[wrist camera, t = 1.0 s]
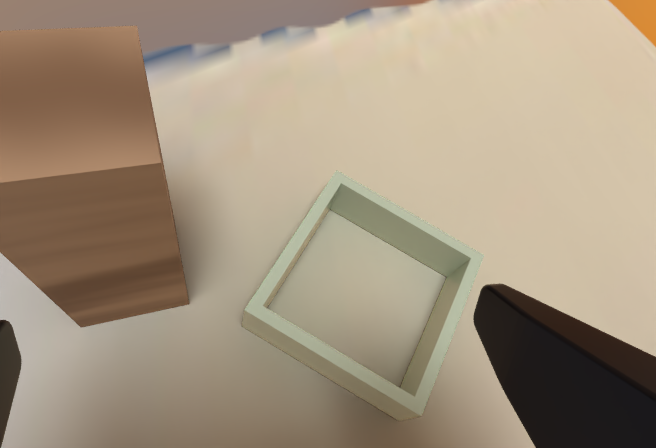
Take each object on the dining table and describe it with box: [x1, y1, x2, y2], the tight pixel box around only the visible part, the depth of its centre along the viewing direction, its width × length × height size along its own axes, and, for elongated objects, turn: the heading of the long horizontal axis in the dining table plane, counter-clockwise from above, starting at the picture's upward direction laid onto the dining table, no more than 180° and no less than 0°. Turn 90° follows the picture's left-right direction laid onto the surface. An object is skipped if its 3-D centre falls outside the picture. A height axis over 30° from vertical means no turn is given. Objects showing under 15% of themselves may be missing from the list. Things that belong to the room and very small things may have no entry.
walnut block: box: [0, 26, 189, 327], centre depth 18 cm, size 5×5×13 cm
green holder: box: [242, 170, 484, 421], centre depth 24 cm, size 9×9×3 cm
